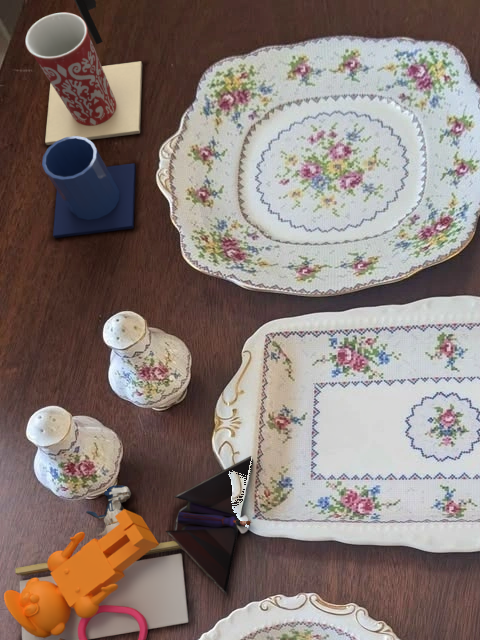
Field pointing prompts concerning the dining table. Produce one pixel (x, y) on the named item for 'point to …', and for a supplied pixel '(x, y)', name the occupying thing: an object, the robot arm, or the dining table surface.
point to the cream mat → (123, 121)
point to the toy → (80, 577)
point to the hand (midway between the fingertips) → (39, 60)
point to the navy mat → (113, 221)
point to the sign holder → (130, 597)
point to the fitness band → (115, 609)
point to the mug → (72, 66)
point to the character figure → (211, 524)
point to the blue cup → (81, 177)
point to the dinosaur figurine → (113, 506)
